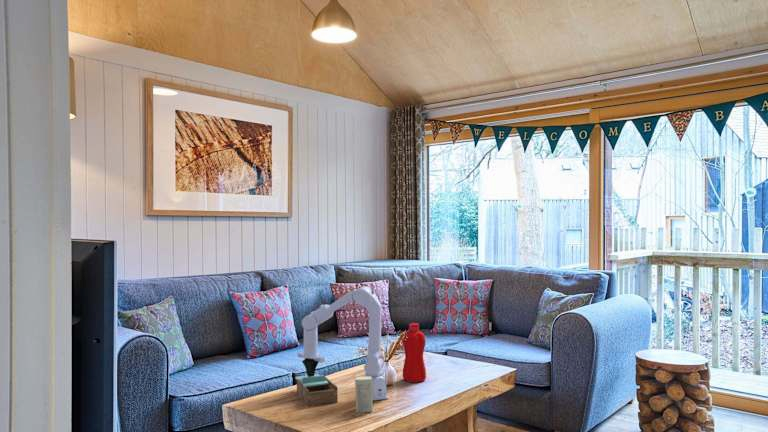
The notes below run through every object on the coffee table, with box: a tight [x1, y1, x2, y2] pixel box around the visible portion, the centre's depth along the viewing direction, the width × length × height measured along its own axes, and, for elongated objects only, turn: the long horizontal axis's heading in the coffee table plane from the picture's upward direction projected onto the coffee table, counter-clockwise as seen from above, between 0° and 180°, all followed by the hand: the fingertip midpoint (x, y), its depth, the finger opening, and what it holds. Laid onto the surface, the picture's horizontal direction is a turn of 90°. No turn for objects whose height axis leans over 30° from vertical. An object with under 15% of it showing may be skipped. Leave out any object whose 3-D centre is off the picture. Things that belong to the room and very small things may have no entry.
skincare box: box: [354, 376, 374, 413], centre depth 215 cm, size 6×4×12 cm
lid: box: [295, 373, 329, 387], centre depth 236 cm, size 14×10×3 cm
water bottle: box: [401, 322, 427, 383], centre depth 254 cm, size 9×11×25 cm
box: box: [296, 376, 338, 407], centre depth 230 cm, size 16×12×6 cm
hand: (310, 377), depth 237 cm, fingers closed
